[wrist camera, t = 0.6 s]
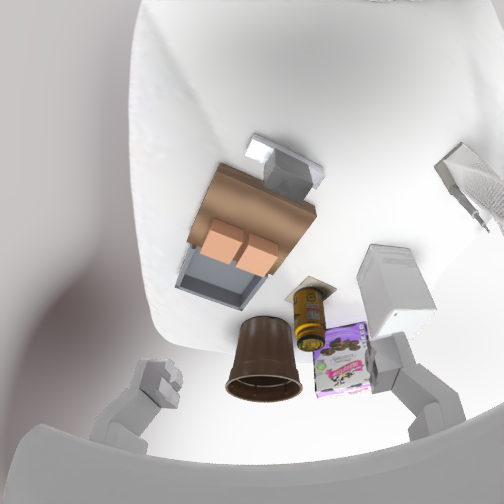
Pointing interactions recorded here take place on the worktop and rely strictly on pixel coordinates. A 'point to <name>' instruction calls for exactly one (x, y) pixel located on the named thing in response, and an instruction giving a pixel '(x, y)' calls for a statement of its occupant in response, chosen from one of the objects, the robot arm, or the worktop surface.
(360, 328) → the candy box
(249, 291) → the tray
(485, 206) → the skyscraper
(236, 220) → the board
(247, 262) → the tile
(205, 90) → the worktop surface
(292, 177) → the scraper
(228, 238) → the tile
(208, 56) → the worktop surface
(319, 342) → the condiment
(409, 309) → the supplement box
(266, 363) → the plant pot
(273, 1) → the worktop surface
